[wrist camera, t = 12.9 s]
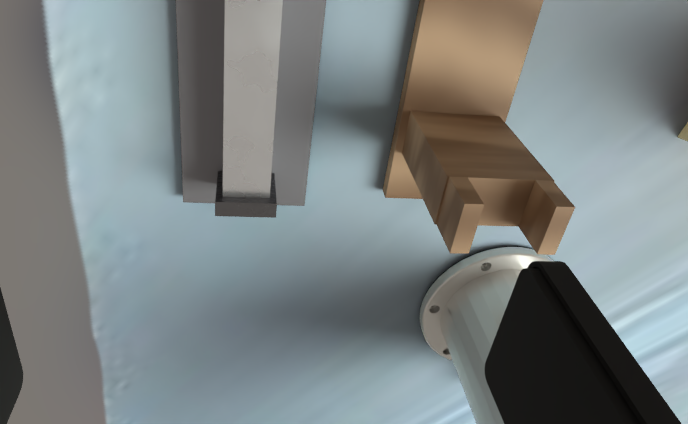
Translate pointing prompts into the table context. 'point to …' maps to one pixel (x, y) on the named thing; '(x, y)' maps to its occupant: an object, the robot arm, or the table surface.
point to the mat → (208, 96)
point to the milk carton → (684, 133)
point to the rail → (249, 108)
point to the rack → (471, 126)
